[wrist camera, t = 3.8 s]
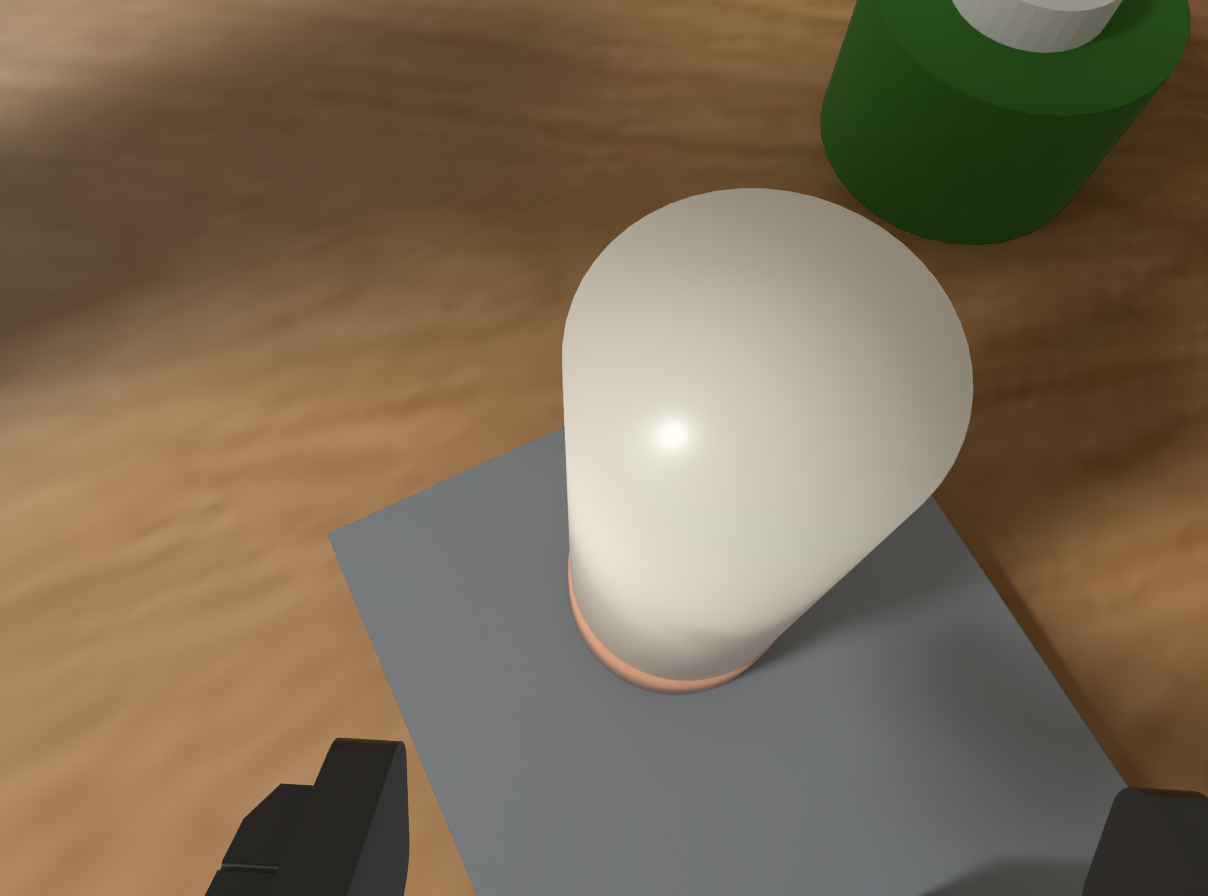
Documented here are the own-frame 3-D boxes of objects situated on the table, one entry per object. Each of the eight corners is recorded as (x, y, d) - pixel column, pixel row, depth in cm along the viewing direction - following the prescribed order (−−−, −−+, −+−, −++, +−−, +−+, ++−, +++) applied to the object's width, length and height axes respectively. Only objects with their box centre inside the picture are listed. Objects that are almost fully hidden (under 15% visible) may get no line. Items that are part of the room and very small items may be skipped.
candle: (1136, 189, 28) (1405, -114, 19) (909, 283, 27) (1081, 4, 18) (987, 5, 31) (1159, -339, 22) (773, 82, 30) (860, -253, 20)
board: (337, 545, 24) (304, 508, 21) (802, 332, 26) (828, 274, 23) (841, 1755, 16) (896, 1955, 13) (1429, 1278, 18) (1580, 1360, 16)
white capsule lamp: (534, 541, 23) (489, 275, 12) (713, 456, 24) (832, 132, 13) (629, 734, 21) (685, 639, 10) (818, 633, 22) (1063, 443, 11)
